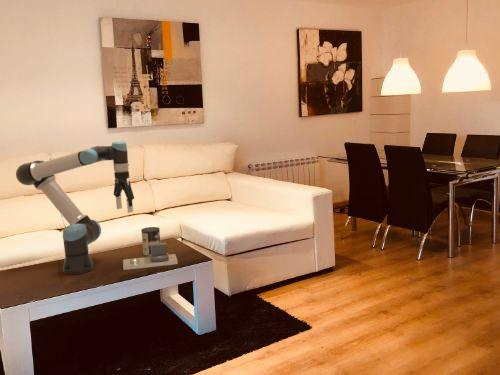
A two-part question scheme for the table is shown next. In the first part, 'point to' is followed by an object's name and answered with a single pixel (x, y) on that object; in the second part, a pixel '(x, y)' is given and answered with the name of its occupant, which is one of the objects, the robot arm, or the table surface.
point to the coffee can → (150, 238)
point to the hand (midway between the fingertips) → (124, 210)
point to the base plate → (147, 262)
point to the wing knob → (159, 252)
